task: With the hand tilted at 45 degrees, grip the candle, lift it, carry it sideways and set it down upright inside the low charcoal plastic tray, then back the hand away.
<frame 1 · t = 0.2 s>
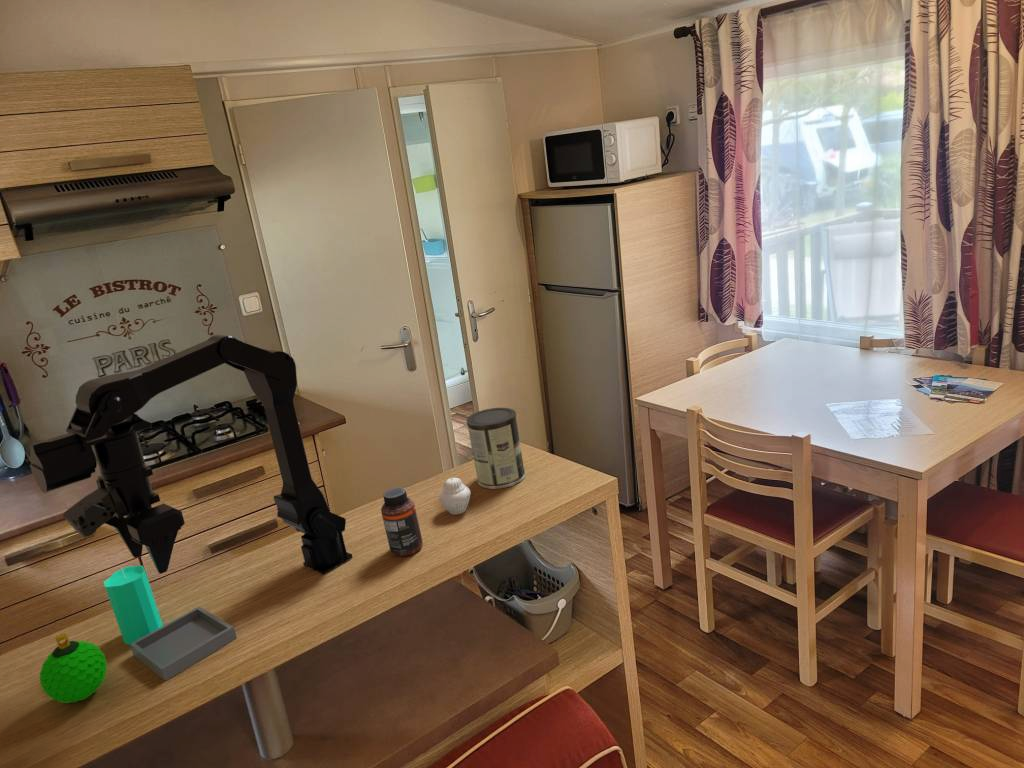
hand: (150, 564, 110), 15 cm above the breakfast bar, tool pointing down, fingers open, 9 cm apart
supplement bottle: (407, 550, 133), on the breakfast bar
coffee can: (501, 479, 157), on the breakfast bar
candle: (143, 633, 120), on the breakfast bar
ornament: (83, 697, 106), on the breakfast bar
tray: (185, 646, 114), on the breakfast bar
muffin: (458, 511, 145), on the breakfast bar
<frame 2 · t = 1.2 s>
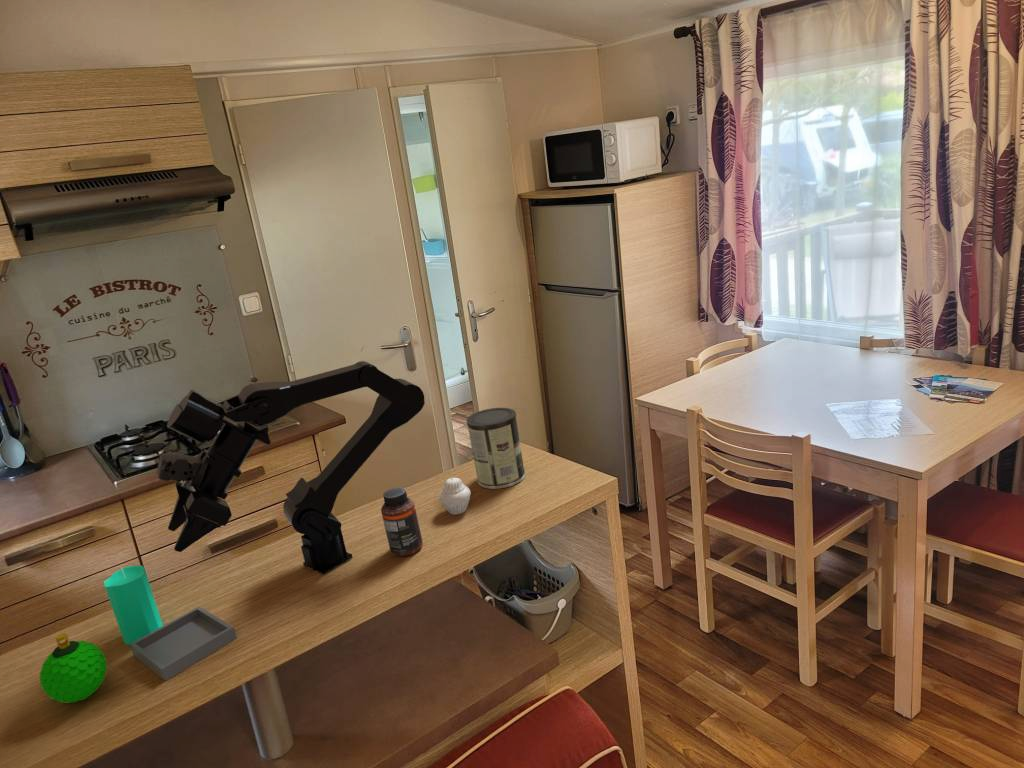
hand: (173, 540, 119), 13 cm above the breakfast bar, tool tilted 45°, fingers open, 9 cm apart
nothing on the breakfast bar moved.
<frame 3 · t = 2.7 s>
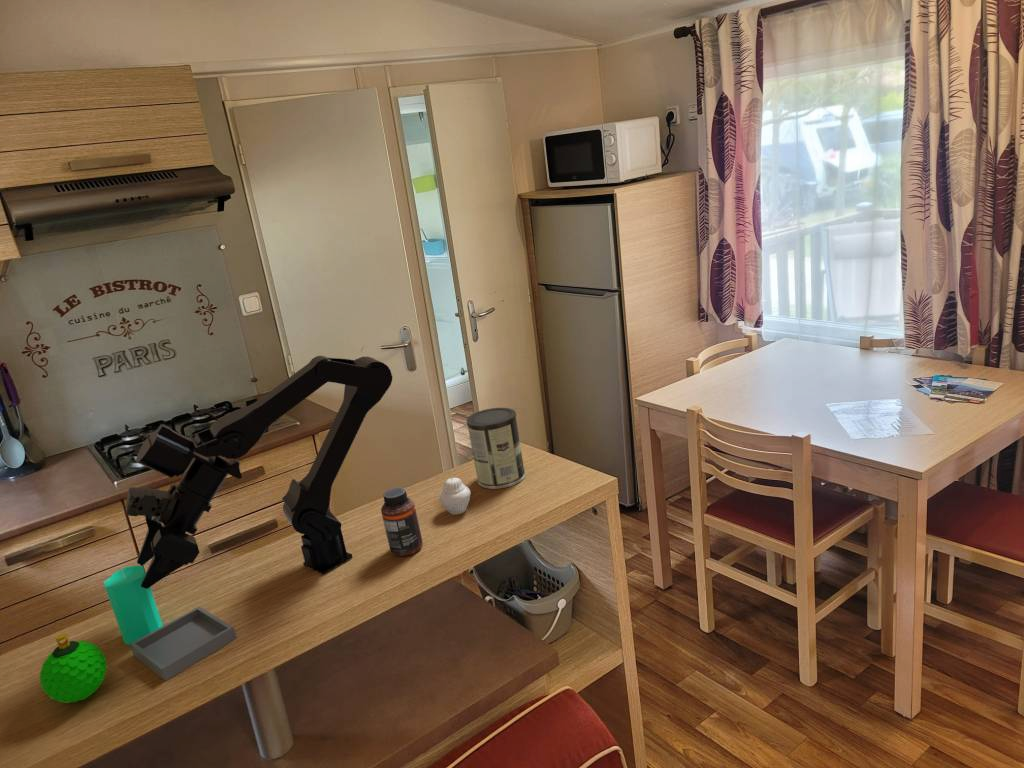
hand: (141, 575, 118), 10 cm above the breakfast bar, tool tilted 45°, fingers open, 9 cm apart
nothing on the breakfast bar moved.
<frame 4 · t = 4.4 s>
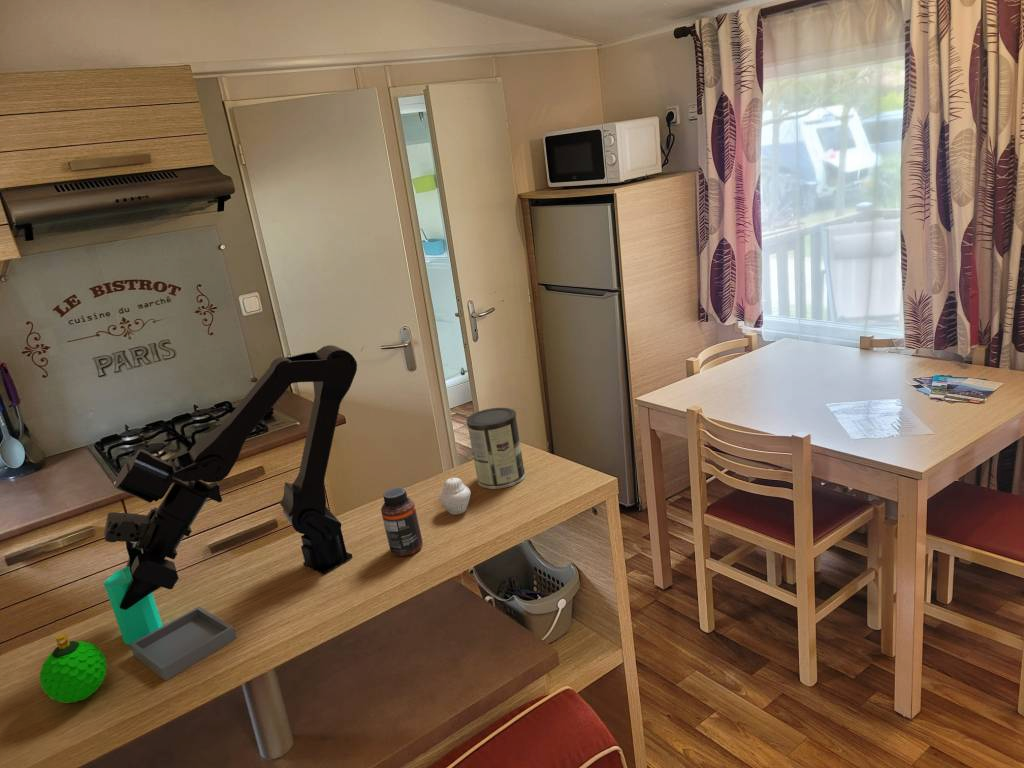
hand: (121, 600, 117), 7 cm above the breakfast bar, tool tilted 45°, fingers closed on candle, 5 cm apart
candle: (143, 633, 120), on the breakfast bar, touching gripper
everything else where it was.
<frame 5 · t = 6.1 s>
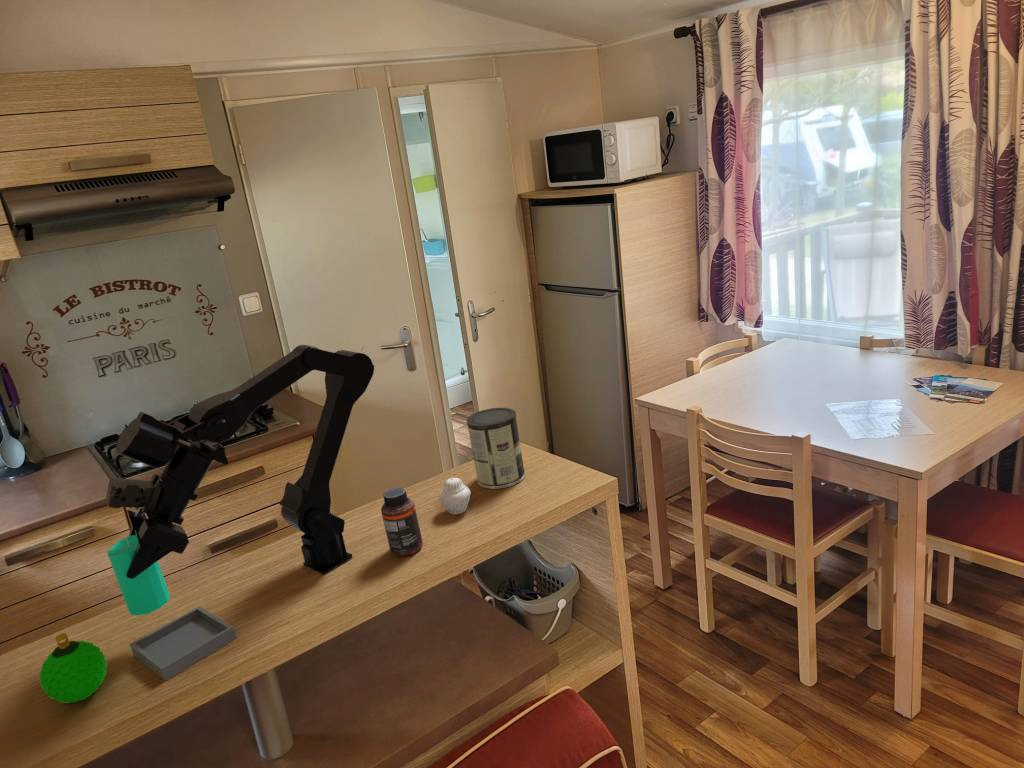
hand: (126, 570, 112), 13 cm above the breakfast bar, tool tilted 45°, fingers closed on candle, 5 cm apart
candle: (150, 604, 115), point 6 cm above the breakfast bar, touching gripper
everything else where it was.
when the fingers open (8 cm above the breakfast bar, at t = 8.2 s): candle drops 1 cm, resting on tray.
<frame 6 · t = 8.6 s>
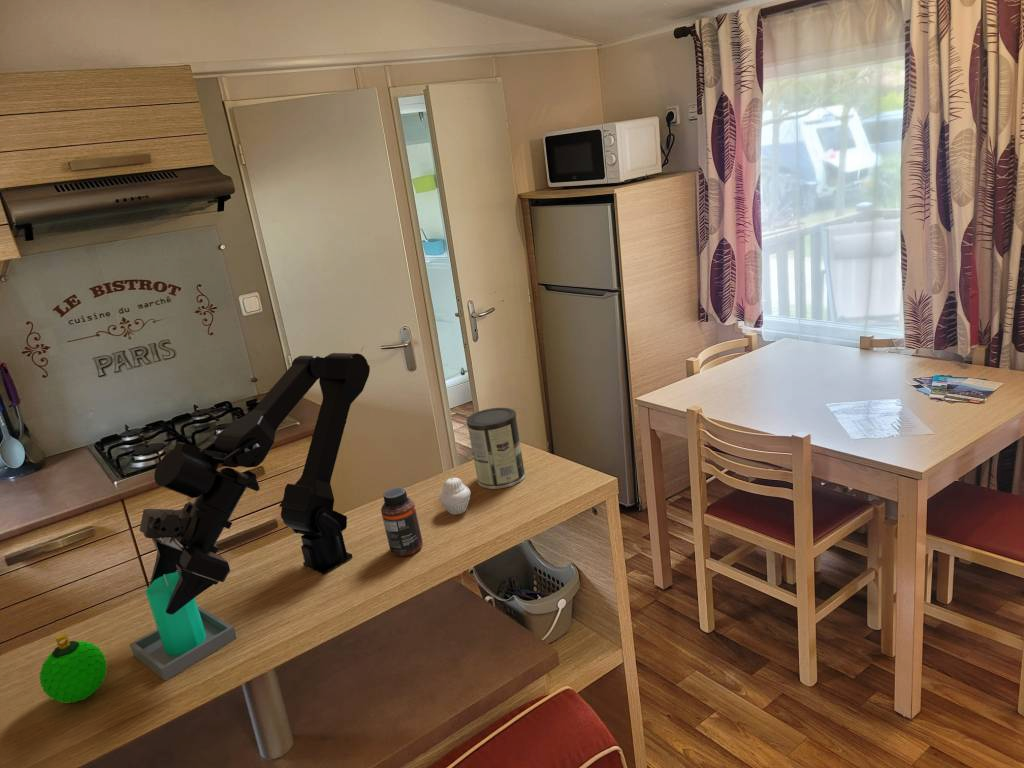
hand: (159, 602, 111), 9 cm above the breakfast bar, tool tilted 45°, fingers open, 9 cm apart
candle: (186, 643, 114), resting on tray
everything else where it was.
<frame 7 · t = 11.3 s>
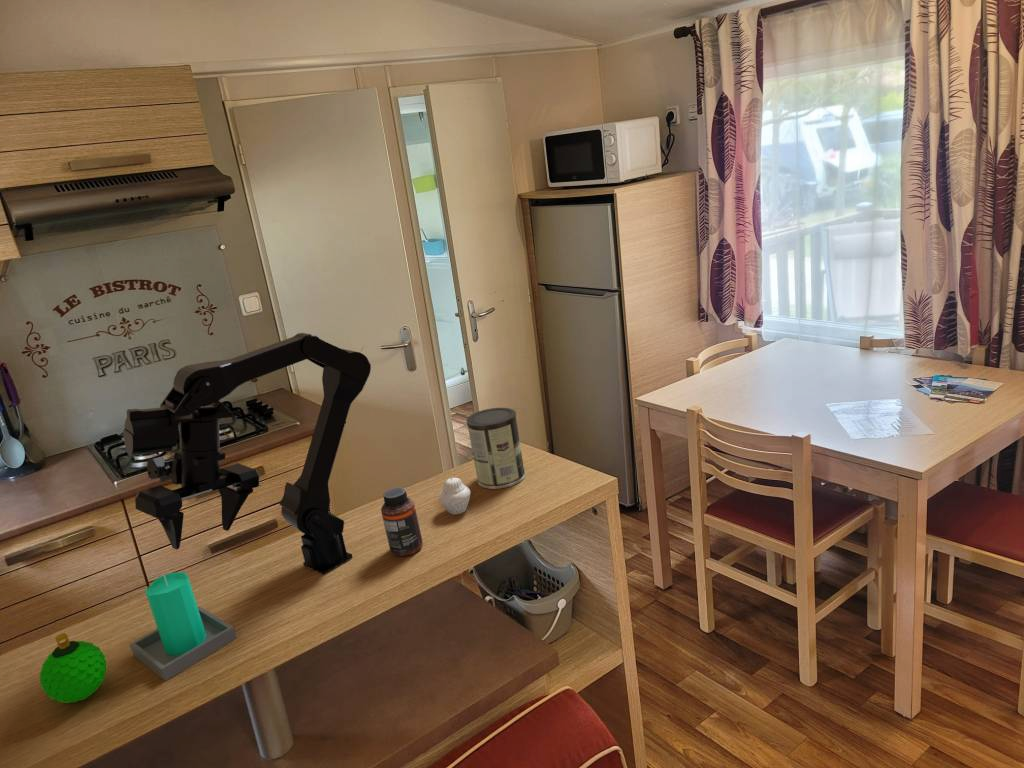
hand: (201, 539, 120), 13 cm above the breakfast bar, tool pointing down, fingers open, 9 cm apart
nothing on the breakfast bar moved.
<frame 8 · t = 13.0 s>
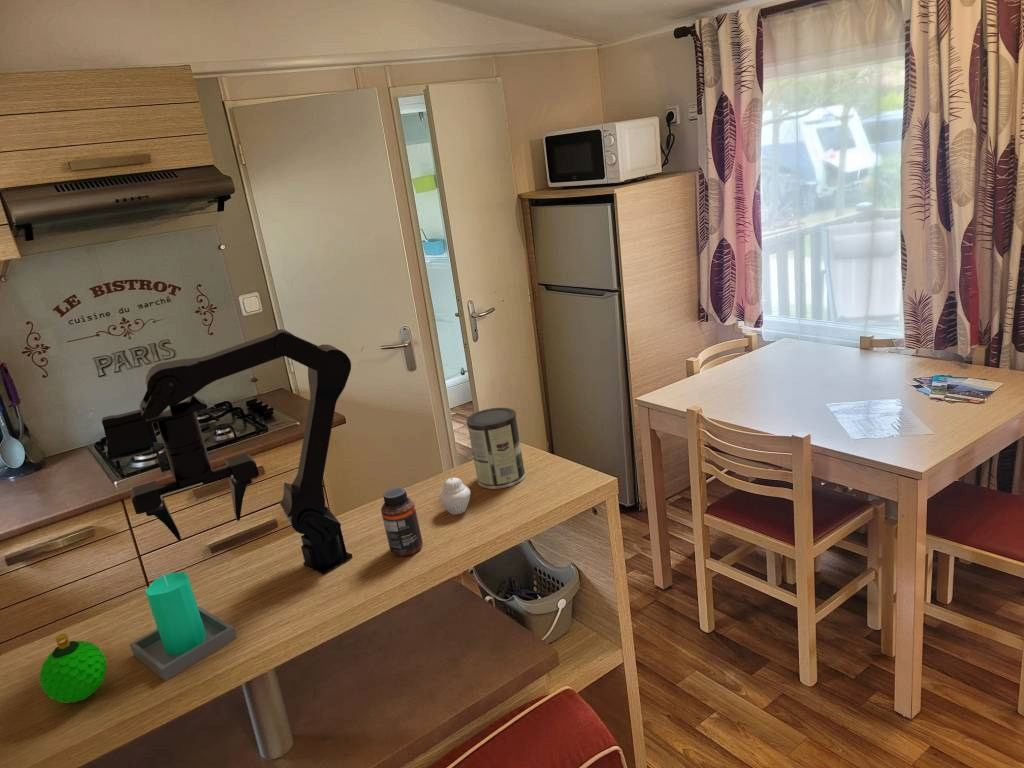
hand: (209, 529, 122), 13 cm above the breakfast bar, tool pointing down, fingers open, 9 cm apart
nothing on the breakfast bar moved.
at the end: candle 0.2 cm off-centre on the tray, point 0.4 cm above the tray's base; candle tilted 0°; the gripper is holding nothing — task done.
